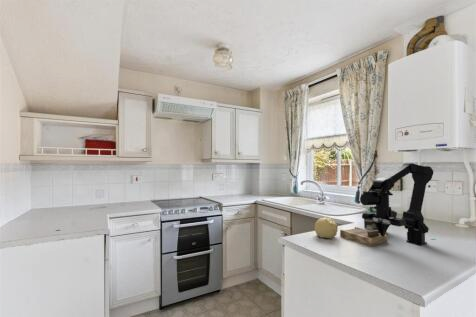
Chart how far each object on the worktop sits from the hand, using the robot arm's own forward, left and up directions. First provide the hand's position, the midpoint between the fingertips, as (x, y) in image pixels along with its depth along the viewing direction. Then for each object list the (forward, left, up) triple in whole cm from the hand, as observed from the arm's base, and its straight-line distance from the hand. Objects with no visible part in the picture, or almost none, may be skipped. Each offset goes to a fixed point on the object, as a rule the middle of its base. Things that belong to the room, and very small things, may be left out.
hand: (383, 236), depth 116 cm
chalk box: (+17, -19, -5) cm, 26 cm away
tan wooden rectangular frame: (+11, 0, -4) cm, 12 cm away
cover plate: (+11, 0, -2) cm, 11 cm away
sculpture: (+23, +14, -5) cm, 27 cm away
